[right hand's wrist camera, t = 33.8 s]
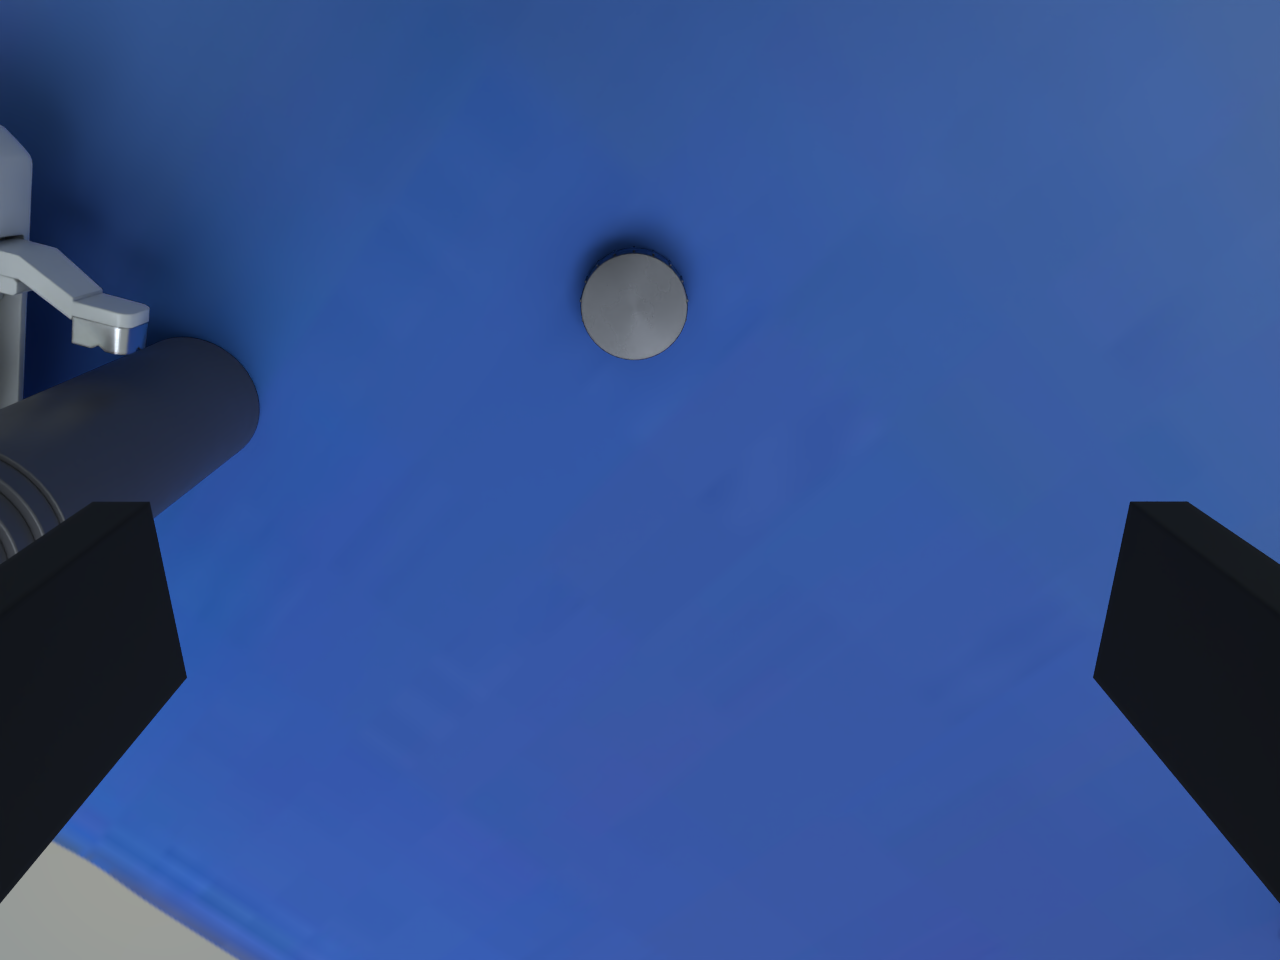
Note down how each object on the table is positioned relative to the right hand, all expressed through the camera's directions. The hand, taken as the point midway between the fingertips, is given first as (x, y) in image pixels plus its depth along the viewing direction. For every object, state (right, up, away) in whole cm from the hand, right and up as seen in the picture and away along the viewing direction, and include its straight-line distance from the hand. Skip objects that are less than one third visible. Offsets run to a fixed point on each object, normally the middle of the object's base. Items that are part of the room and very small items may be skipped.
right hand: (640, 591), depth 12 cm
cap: (0, +8, +24) cm, 25 cm away
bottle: (-19, +5, +27) cm, 33 cm away
